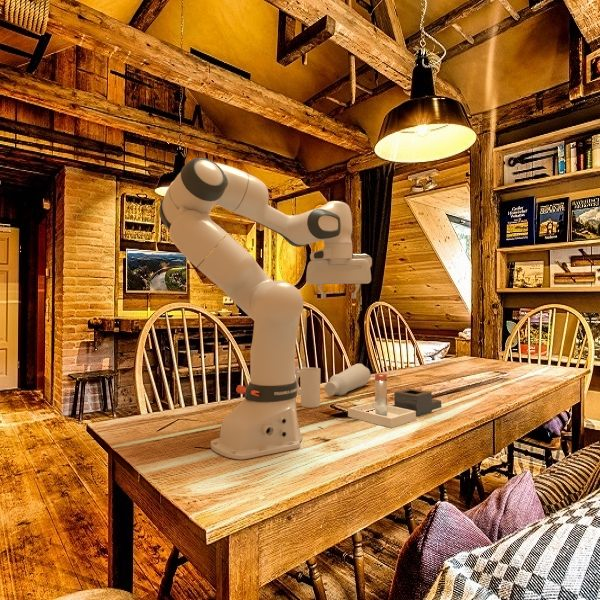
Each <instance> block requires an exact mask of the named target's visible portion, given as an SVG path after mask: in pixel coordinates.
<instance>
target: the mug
mask: <svg viewBox="0 0 600 600" xmlns="http://www.w3.org/2000/svg"><path fill="white" fill-rule="evenodd" d="M299 378H300V379H299ZM295 381H296V382H297V396H300V406H301V407H302V408H308V409H310V408H311V409H314V408H319V407H320V406H321V368H320V367H302V368H299V370H297V371H296V374H295ZM299 383H300V385H299Z"/></svg>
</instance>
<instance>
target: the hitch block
mask: <svg viewBox="0 0 600 600" xmlns="http://www.w3.org/2000/svg"><path fill="white" fill-rule="evenodd" d="M432 394H433V392H431V391H425V390H421V389H420V390H419V389H414V388H406V389H401V390H398V391H394V396H393V397H394V398H393V399H394V403H393V404H394V405H393V406H394V407H399V408H403V409H408V410H413V411H416V418H417V417H419V416H420V417H421V416H424V415H426V414H430V413H432V412H433V410H435V409H439V408H441V407H442V400H440V399H435V398H433V395H432Z"/></svg>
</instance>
